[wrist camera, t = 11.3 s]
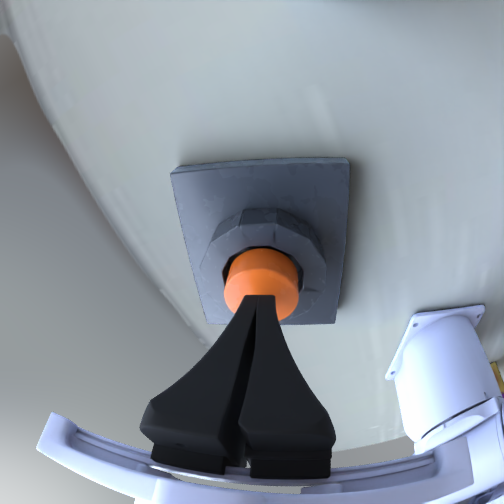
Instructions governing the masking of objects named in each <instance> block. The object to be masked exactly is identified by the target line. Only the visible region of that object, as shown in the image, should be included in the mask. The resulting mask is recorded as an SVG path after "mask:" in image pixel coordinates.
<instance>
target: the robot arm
mask: <svg viewBox="0 0 504 504" xmlns="http://www.w3.org/2000/svg"><path fill="white" fill-rule="evenodd" d="M484 311H485V307H484V305H477V306H470V307H463V308H456V309H448V310H440V311H431V312H422V313H416V314H414V315H413V316H412V318H411V320H410V322H409V325H408V327H407V330H406V332H405V334H404V337H403V339H402V341H401V344H400V346H399V348H398V350H397V353H396V355H395V357H394V359H393V361H392V363H391V365H390V367H389V369H388V371H387V373H386V375H385V378H386V380H395V385H396V389H397V394H398V399H399V404H400V410H401V415H402V421H403V426H404V429H405V432H406V433H407V435H408V436H409V437H410V438H411V439H412V440H413V441H414V442H416V443H415V444H414V449H415V453H414V454H413V455H412V456H410V457H405V458H401V459H396V460H391V461H385V462H380V463H373V464H367V465H359V466H351V467H341V468H331V467H330V466H331V463H330V462H331V460H330V459H331V457H332V447H333V445H334V443H335V441H336V434H335V430H334V427H333V424H332V422H331V419H330V417H329V414H328V412H327V411H326V409H325V408H324V407H323V406H322V404H321V403H320V402H319V400H318V399H317V398H316V396H315V395H314V393H313V392H312V390H311V389H310V388H309V386H308V384H307V383H306V381H305V379H304V378H303V376H302V374H301V373H300V371H299V369H298V367H297V365H296V363H295V361H294V359H293V357H292V355H291V353H290V351H289V349H288V346H287V344H286V341H285V339H284V336H283V333H282V330H281V327H280V324H279V320H278V316H277V311H276V298H275V296H274V295H245V296H244V297H243V299H242V301H241V303H240V305H239V307H238V309H237V311H236V312H235V314H234V316H233V317H232V319H231V321H230V322H229V324H228V325H227V327H226V328H225V330H224V331H223V333H222V334H221V335H220V337H219V338H218V340H217V341H216V342H215V344H214V345H213V346H212V347H211V348H210V350H209V351H208V352H207V353H206V354H205V355H204V357H203V358H202V359H201V360H200V361H199V362H198V363H197V364H196V365H195V366H194V367H193V368H192V369H191V370H190V371H189V372H188V373H186V374H185V375H184V376H183V377H182V378H180V379H179V380H178V381H177V382H176V383H174V384H173V385H172V386H170V387H169V388H168V389H166V390H165V391H164V392H162V393H160V394H159V395H157V396H156V397H154V398H153V399H151V400H150V402H149V404H148V406H147V408H146V410H145V413H144V415H143V418H142V421H141V424H140V430H141V432H142V433H143V434H144V435H145V436H146V437H147V438H149V439H150V440H151V441H152V442H154V446H153V450H152V452H149V451H146V450H143V449H139V448H136V447H132V446H129V445H126V444H123V443H120V442H117V441H114V440H111V439H108V438H105V437H102V436H100V435H97V434H94V433H91V432H89V431H87V430H84V429H82V428H80V427H78V426H77V425H76V424H75V423H73V422H72V421H71V420H69V419H67V418H65V417H63V416H61V415H59V414H57V413H54V412H52V413H51V415H50V417H49V420H48V421H47V424H46V426H45V428H44V431H43V433H42V435H41V438H40V440H39V443H38V445H37V447H36V448H37V450H38V451H40V452H42V453H43V454H45V455H46V456H48V457H50V458H51V459H53V460H55V461H56V462H58V463H60V464H62V465H63V466H65V467H67V468H69V469H71V470H73V471H75V472H77V473H78V474H80V475H82V476H84V477H86V478H88V479H91V480H93V481H95V482H97V483H99V484H102V485H104V486H106V487H108V488H111V489H113V490H116V491H118V492H121V493H123V494H126V495H129V496H131V497H134V498H136V500H135V503H134V504H504V398H503V397H502V394H501V392H500V389H499V386H498V383H497V381H496V378H495V375H494V373H493V370H492V368H491V365H490V363H489V361H488V358H487V356H486V354H485V351H484V349H483V347H482V345H481V342H480V340H479V338H478V336H477V334H476V332H475V328H476V326H477V324H478V322H479V321H480V319H481V317H482V315H483V313H484ZM247 461H248V463H249V465H250V466H251V468H245V467H246V466H247ZM154 468H157V469H160V470H164V471H168V472H172V473H177V474H181V475H186V476H191V477H196V478H202V479H208V480H214V481H221V482H229V483H238V484H249V485H264V486H310V487H303V488H302V489H301V493H300V494H282V493H266V492H256V491H246V490H237V489H229V488H221V487H214V486H208V485H201V484H196V483H190V482H185V481H182V480H180V479H177V478H175V477H174V476H172V475H171V474H170V473H167V472H163V471H160V470H157V469H154Z"/></svg>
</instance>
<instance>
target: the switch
mask: <svg viewBox="0 0 504 504" xmlns="http://www.w3.org/2000/svg"><path fill="white" fill-rule="evenodd" d="M245 295H274V296H275V298H276V311H277V316H278V320H279V321H280V320H282V319H284V318H286V317H288V316H289V315H290V314H291V313H292V312H293V311H294V310H295V308H296V306H297V304H298V300H299V290H298V273H297V269H296V267H295V265H294V263H293V262H292V261H291V260H290V259H289V258H288V257H287V256H286V255H284V254H282V253H280V252H278V251H276V250H272V249H267V248H257V249H251V250H248V251H246V252H244V253H242V254H240V255H239V256H238V257H237V258H236V259H235V260H234V261H233V263H232V264H231V267H230V270H229V274H228V277H227V281H226V285H225V289H224V298H225V302H226V304H227V306H228V307H229V309H230V310H231V311H232V312H233V313H234V314H235V312H236V311H237V309H238V307H239V305H240V303H241V301H242V299H243V297H244V296H245Z"/></svg>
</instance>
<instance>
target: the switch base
mask: <svg viewBox="0 0 504 504" xmlns="http://www.w3.org/2000/svg"><path fill="white" fill-rule="evenodd" d="M170 177H171V182H172V187H173V191H174V196H175V200H176V205H177V209H178V214H179V218H180V222H181V227H182V231H183V235H184V239H185V243H186V247H187V251H188V255H189V259H190V263H191V267H192V270H193V274H194V278H195V282H196V285H197V289H198V293H199V296H200V300H201V303H202V307H203V310H204V314H205V317H206V320H207V323H208V324H229V322H230V321H231V319H232V317H233V316H234V313H233V312H232V311H231V310H230V309H229V307H228V306H227V304H226V302H225V298H224V289H225V285H226V281H227V277H228V274H229V270H230V267H231V264H232V263H233V261H234V260H235V259H236V258H237V257H238V256H239V255H240V254H242V253H244V252H246V251H248V250H251V249H257V248H267V249H272V250H276V251H278V252H280V253H282V254H284V255H286V256H287V257H288V258H289V259H290V260H291V261H292V262H293V263H294V265H295V267H296V269H297V273H298V290H299V300H298V304H297V306H296V308H295V310H294V311H293V312H292V313H291V314H290V315H289V316H288V317H286V318H284V319H282V320H280V321H279V324H280V325H307V324H334V323H335V320H336V314H337V307H338V301H339V293H340V286H341V278H342V270H343V261H344V252H345V241H346V230H347V217H348V202H349V182H350V163H349V162H348V161H347V160H346V158H279V159H258V160H243V161H230V162H218V163H208V164H198V165H189V166H181V167H177V168H176V169H175V170H173V171H172V172H171V173H170Z"/></svg>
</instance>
